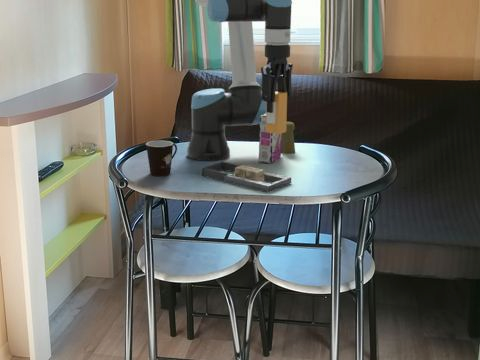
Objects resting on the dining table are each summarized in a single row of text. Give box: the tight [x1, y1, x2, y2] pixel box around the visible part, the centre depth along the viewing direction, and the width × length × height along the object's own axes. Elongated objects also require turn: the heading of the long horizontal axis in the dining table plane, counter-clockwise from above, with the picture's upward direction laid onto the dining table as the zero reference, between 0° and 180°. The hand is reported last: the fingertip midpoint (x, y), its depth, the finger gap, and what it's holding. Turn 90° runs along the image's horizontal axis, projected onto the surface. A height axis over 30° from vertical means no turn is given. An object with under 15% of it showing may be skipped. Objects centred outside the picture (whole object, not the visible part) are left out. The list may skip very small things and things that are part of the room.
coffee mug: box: [145, 140, 178, 177], centre depth 217 cm, size 12×9×10 cm
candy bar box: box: [258, 113, 282, 164], centre depth 234 cm, size 11×5×16 cm, turn 159°
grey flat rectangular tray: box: [223, 170, 292, 193], centre depth 209 cm, size 17×12×2 cm
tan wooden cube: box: [246, 167, 265, 182], centre depth 210 cm, size 4×4×4 cm
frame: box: [201, 161, 243, 182], centre depth 217 cm, size 10×11×2 cm
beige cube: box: [234, 164, 254, 178], centre depth 212 cm, size 4×4×4 cm
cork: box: [281, 121, 296, 155], centre depth 246 cm, size 6×6×11 cm
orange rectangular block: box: [266, 90, 288, 134], centre depth 204 cm, size 4×4×12 cm
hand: (276, 121), depth 205 cm, fingers closed on orange rectangular block, 4 cm apart
